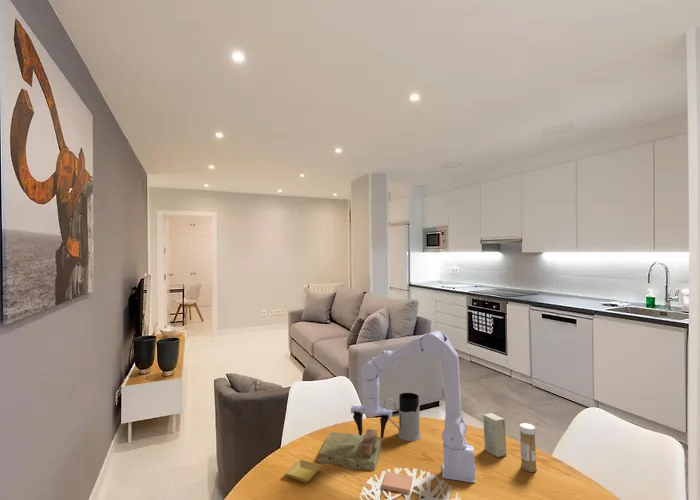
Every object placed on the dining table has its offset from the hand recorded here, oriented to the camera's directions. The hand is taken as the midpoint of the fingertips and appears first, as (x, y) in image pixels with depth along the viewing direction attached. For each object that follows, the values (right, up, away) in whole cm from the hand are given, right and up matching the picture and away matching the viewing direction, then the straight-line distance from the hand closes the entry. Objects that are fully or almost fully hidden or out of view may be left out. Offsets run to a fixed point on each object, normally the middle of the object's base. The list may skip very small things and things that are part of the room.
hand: (371, 435), depth 120 cm
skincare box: (+44, -6, 0) cm, 44 cm away
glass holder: (+13, -7, +13) cm, 19 cm away
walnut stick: (-1, -3, -2) cm, 4 cm away
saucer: (-22, -6, -13) cm, 26 cm away
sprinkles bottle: (+50, -6, -10) cm, 52 cm away
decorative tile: (-7, -7, -1) cm, 10 cm away
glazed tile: (+8, -5, -15) cm, 17 cm away
